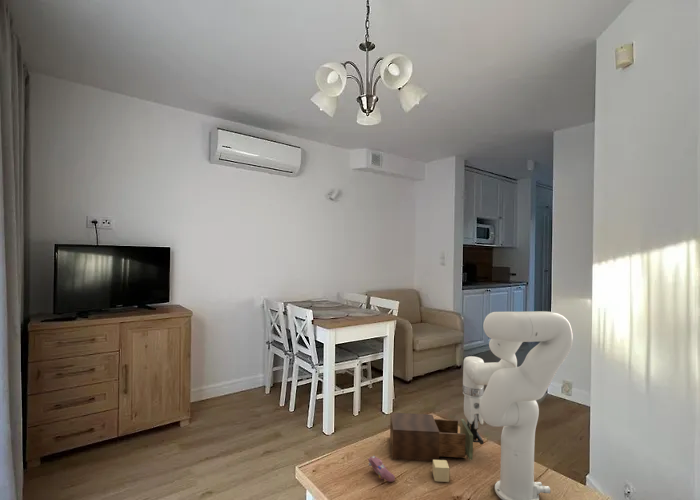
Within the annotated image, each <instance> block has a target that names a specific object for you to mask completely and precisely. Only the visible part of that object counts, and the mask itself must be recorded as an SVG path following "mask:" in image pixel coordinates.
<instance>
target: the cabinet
mask: <svg viewBox="0 0 700 500" xmlns="http://www.w3.org/2000/svg"><path fill="white" fill-rule="evenodd" d="M434 419H435V417H434V414H426V413H405V412H390V422H389V423H390V425H389V426H390V427H389V431H390V432H389V441H390V442H389V443H390V451H391V457H392V460H402V461H403V460H404V461H419V462H433V460H440V456H439V430H438V427H437V425H436V422H435V420H434Z"/></svg>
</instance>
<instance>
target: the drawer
mask: <svg viewBox="0 0 700 500" xmlns="http://www.w3.org/2000/svg"><path fill="white" fill-rule="evenodd" d="M434 420H435V422H436V425H437V427H438V430H439V457H444V458H445V457H448V458H465V459H466V456H467V458H468V459H469V461H473V460H474V459H473V458H474V443H479V444H480V445H484V443H485V442H484V440H483V438H482V436H481V435H480V433H479V431H477V440H473V434H472V433H471V431H470V429H469V428H468V426H467V422H466V421H465V419H464V418H460V421H459V419H445V418H434ZM459 424H460V425H459ZM459 426H460V427H459Z"/></svg>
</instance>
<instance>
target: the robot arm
mask: <svg viewBox="0 0 700 500" xmlns="http://www.w3.org/2000/svg"><path fill="white" fill-rule="evenodd" d="M482 326H483V327H482V328H483V331H484V332H483V333H484V334H485V335H486V336H487V337H488V338H489V339H490V340H489V342H488V347H489V350H490V351H491V352H492V354H493V355H494V356H495V357H496V358H498V359H500V360H499V361H496V362H494V361H493V362H485V361H484V359H483V358H481V357H478V356H474V355H473V356H472V355H471V356H470V355H469V356H466V357H464V358H463V364H462V365H463V366H462V367H463V368H462V370H463V371H462V395H463V396H464V397H463V414H464V417H465V418H466V424H467V426H468V428H469V429H470V431H471V433H472V434H473V440H477V432H478V430H479V425H481V426H483V425H484V423H485V424H486V425H488V426H490V427H494V428H498V427H499V428H500V427H502V430H501V433H500V469H499V471H500V473H499V480H497V481H496V482H495V484H494V492H495V494H496V495H497V497H498V498H499V499H500V500H540V494H551V492H552V491H551V487H550V486H549V485H543V483H542V481H535V448H536V447H535V445H536V444H535V442H536V430H537V429H536V428H537V425H538V420H539V415H540V408H539V403H538V402H537V401H538V400H540V399H542V398H543V397H544V396H545V394H546V392H547V391H548V389H549V387H550V385H551V383H552V382H553V380H554V379H555V376H556V374H557V372H558V371H559V369H560V367H561V366H562V365H563V364H564V362H565V360H566V359H567V358H568V356H569V355H570V352H571V350H572V347H573V343H574V334H573V330H572V329H573V328H572V326H571V323H570V321H569V320H568V319H567V317H565V316H564V315H562V314H560V313H558V312H554V311H546V310H542V311H541V310H540V311H538V310H536V311H534V310H533V311H492V312H489V313H488V314H486V316H485V318H484V320H483V325H482ZM523 343H537V344H536V345H535V346H534V347H532V348H531V349H530V350H529V351H528V352H527V354H526V355H525V358H524V360H523V362H522V363H521V365H519V366H518V359H517V356H516V353H517V352H518V350H519V349H520V347H521V346H522V345H523ZM485 386H486V387H485Z"/></svg>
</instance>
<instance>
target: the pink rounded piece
mask: <svg viewBox="0 0 700 500" xmlns="http://www.w3.org/2000/svg"><path fill="white" fill-rule="evenodd" d="M367 461H368V464H367V465H368V466H369V467H370V468H372V469H373V472H374V473H375V474H376V475H378V478H379V479H380V480H385V481H386V482H389V483H393V482H394V481H395V480H396V477H395V475H394V474H393V473H392V472H391V471H389V469H387V467H386V465H385V464H384V463H383V460H382V459H380V458H379V457H377V456H375V455H373V456H369V458H367Z"/></svg>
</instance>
